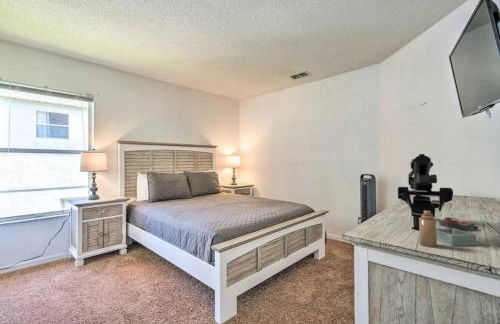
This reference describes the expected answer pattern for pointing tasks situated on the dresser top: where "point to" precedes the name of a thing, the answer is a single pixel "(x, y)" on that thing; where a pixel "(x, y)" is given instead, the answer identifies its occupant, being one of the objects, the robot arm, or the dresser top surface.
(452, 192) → the robot arm
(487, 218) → the dresser top surface
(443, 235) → the u rest
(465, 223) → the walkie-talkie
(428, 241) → the bottle
